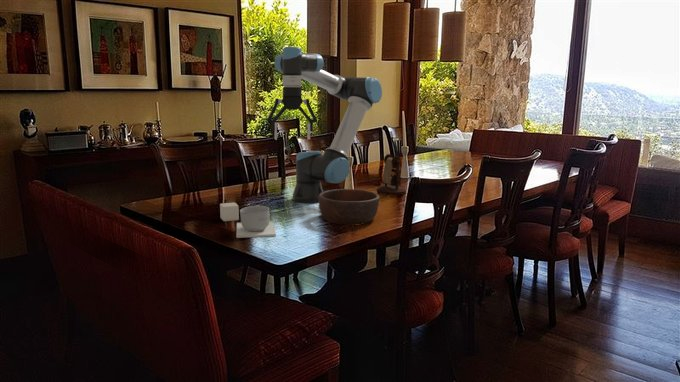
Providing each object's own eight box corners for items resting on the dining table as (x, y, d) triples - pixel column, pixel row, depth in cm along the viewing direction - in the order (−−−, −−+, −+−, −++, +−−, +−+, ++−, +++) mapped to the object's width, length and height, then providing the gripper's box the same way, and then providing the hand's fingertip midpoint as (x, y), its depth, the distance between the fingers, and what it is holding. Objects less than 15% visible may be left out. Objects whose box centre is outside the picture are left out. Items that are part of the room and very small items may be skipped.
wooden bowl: (332, 230, 196) (332, 203, 194) (309, 214, 218) (309, 190, 216) (389, 224, 206) (390, 199, 204) (362, 209, 228) (363, 186, 226)
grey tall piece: (370, 192, 263) (372, 153, 259) (394, 190, 270) (396, 152, 266) (387, 198, 250) (389, 157, 246) (411, 195, 257) (413, 156, 253)
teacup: (263, 234, 186) (263, 213, 184) (235, 232, 188) (235, 211, 186) (276, 224, 199) (275, 204, 198) (249, 222, 201) (249, 202, 200)
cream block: (234, 216, 213) (234, 202, 212) (238, 220, 208) (238, 205, 207) (220, 217, 210) (219, 203, 209) (224, 221, 205) (223, 206, 204)
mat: (273, 223, 203) (273, 221, 203) (275, 236, 187) (275, 234, 187) (236, 224, 201) (236, 222, 200) (236, 237, 184) (236, 235, 184)
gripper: (261, 86, 202) (262, 140, 206) (324, 87, 206) (323, 140, 211) (260, 86, 209) (261, 138, 213) (321, 86, 213) (320, 138, 218)
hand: (292, 139), depth 212 cm, fingers open, 13 cm apart
